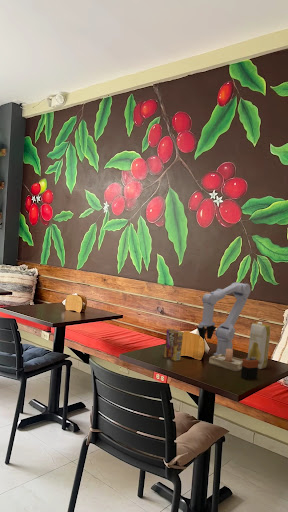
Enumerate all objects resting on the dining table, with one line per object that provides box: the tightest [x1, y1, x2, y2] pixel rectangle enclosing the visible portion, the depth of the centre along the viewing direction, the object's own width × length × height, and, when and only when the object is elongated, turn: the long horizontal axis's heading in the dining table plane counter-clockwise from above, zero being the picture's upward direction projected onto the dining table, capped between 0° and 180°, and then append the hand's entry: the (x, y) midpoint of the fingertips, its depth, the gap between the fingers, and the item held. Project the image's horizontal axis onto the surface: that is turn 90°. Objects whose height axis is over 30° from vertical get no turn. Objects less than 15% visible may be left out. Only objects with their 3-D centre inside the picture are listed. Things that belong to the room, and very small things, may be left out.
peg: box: [225, 348, 234, 363], centre depth 221 cm, size 4×4×8 cm
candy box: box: [164, 328, 184, 362], centre depth 225 cm, size 9×4×15 cm, turn 39°
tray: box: [208, 354, 244, 372], centre depth 221 cm, size 13×16×4 cm
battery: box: [240, 357, 259, 381], centre depth 202 cm, size 4×7×10 cm, turn 119°
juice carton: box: [247, 321, 271, 370], centre depth 225 cm, size 9×8×24 cm
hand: (205, 339), depth 234 cm, fingers open, 7 cm apart
